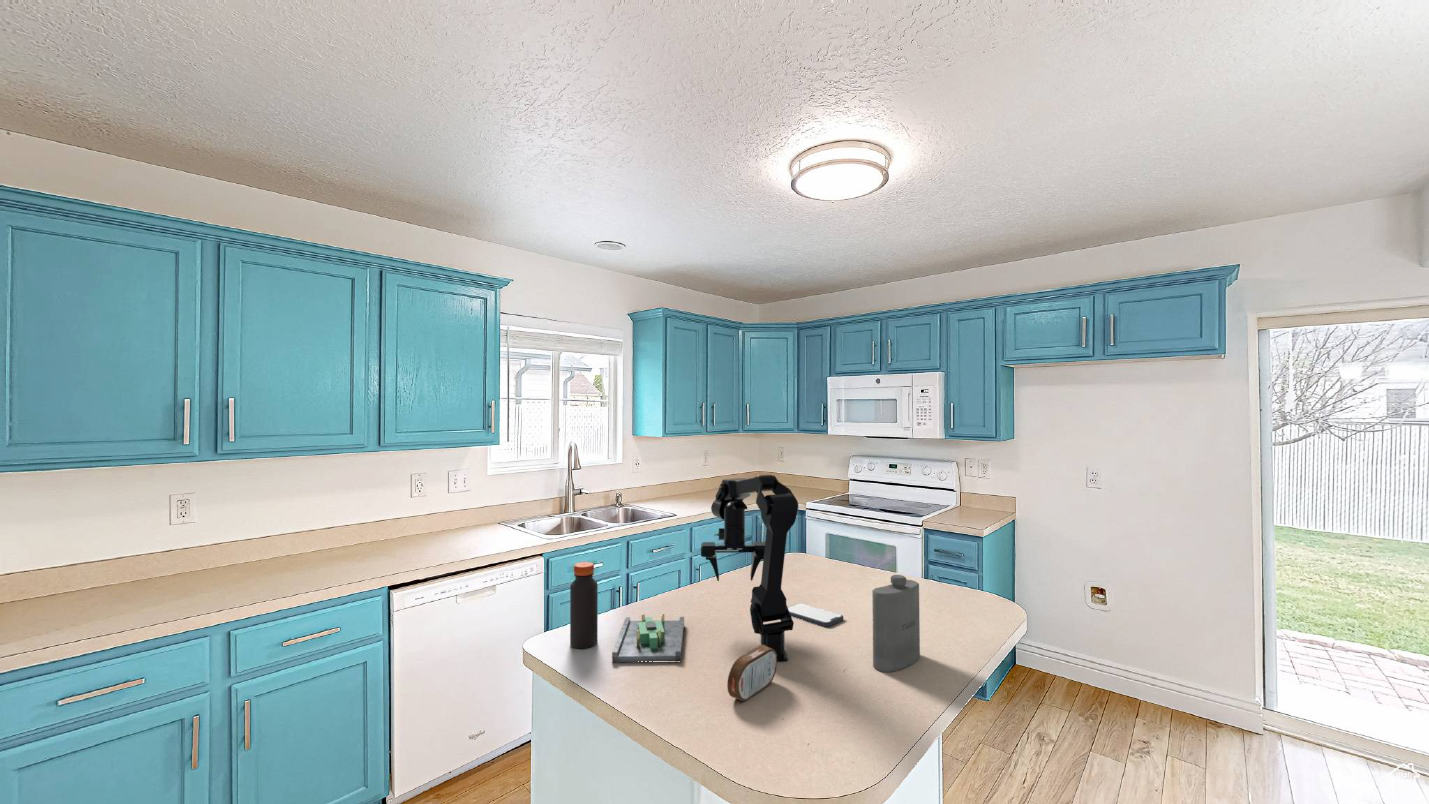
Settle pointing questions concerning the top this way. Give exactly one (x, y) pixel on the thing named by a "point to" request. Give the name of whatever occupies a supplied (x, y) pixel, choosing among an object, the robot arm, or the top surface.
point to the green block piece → (650, 632)
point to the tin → (752, 672)
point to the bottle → (583, 607)
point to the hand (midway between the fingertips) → (734, 580)
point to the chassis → (634, 651)
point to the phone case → (815, 615)
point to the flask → (896, 625)
